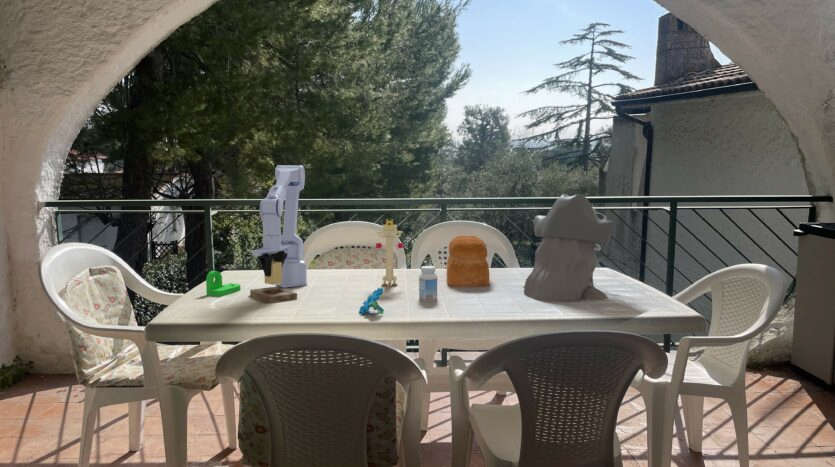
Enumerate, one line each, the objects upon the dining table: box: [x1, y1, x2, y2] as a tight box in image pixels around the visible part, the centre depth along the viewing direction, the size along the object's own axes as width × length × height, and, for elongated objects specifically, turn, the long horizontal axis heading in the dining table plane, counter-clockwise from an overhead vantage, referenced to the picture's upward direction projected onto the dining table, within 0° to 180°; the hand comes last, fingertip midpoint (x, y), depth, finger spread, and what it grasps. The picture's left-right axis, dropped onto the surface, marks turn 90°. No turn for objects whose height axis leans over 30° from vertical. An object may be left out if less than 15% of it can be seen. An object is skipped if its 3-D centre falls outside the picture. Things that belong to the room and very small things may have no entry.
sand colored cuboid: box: [264, 260, 282, 285], centre depth 199 cm, size 4×4×7 cm
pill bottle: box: [418, 265, 438, 302], centre depth 197 cm, size 6×6×11 cm
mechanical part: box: [205, 270, 242, 297], centre depth 208 cm, size 12×6×8 cm, turn 156°
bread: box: [446, 235, 490, 288], centre depth 228 cm, size 16×26×17 cm, turn 178°
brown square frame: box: [249, 285, 298, 304], centre depth 200 cm, size 11×14×2 cm
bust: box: [522, 193, 616, 303], centre depth 205 cm, size 34×34×35 cm
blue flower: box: [358, 286, 385, 315], centre depth 180 cm, size 11×6×10 cm
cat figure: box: [375, 218, 404, 287], centre depth 220 cm, size 10×9×25 cm
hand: (272, 275), depth 199 cm, fingers closed on sand colored cuboid, 4 cm apart
